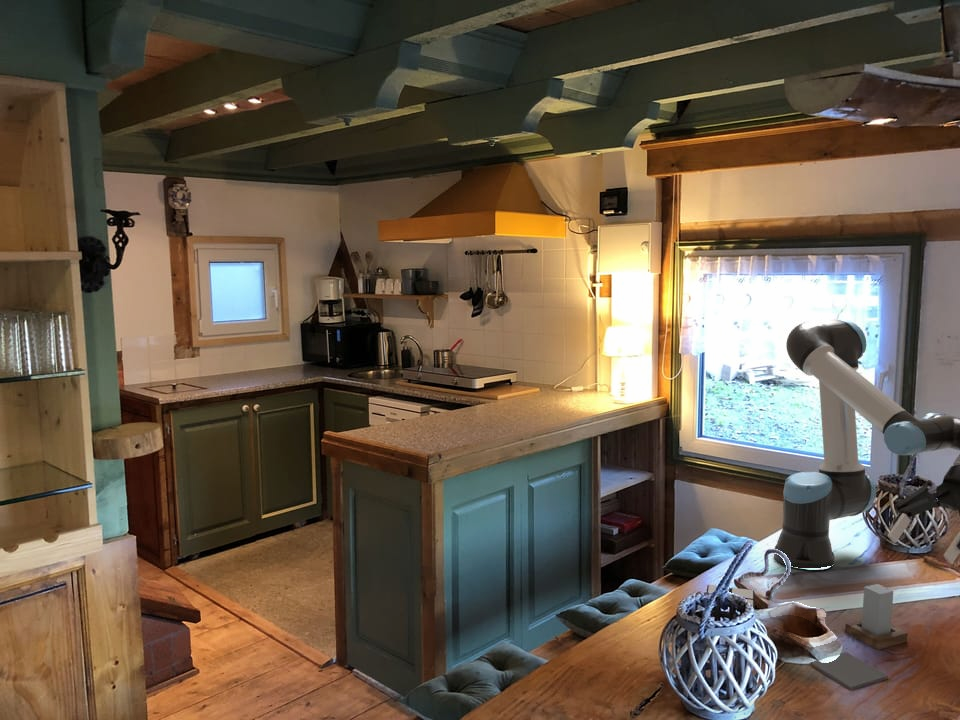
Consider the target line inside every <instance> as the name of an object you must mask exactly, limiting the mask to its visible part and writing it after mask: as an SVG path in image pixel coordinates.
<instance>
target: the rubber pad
mask: <svg viewBox="0 0 960 720" xmlns="http://www.w3.org/2000/svg"><path fill="white" fill-rule="evenodd" d="M839 654H840V656H839V657H838V658H837V659H836V660H834V661H832V662H829V663H821V662H818V661H816V660H813V661H814V662H813V661H810V663H809V665H810V666H811V667H813V668H814V669H816V670H818V671H819V672H821V673H823V674H824V675H825V676H826V677H827V676H828V678H831V679H832V680H833V681H835V682H837V683H839V684H840V685H842V686H844V688H847V689H848V690H850V691H853V690H855V689H859V688H861V687H866V686H868V685H872V684H876V683H878V682H881V681H884V680H887V679H889V675H888V674H886V673H884V672H883V671H881V670H879V669H877V668H876V667H874V666H872V665H870V664H869V663H867V662H865V661H863V660H861V659H860V658H858V657H856V656H855V655H853V654H851V653H849V652H847V651H845V652H841V653H839ZM852 689H853V690H852Z"/></svg>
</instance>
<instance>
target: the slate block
mask: <svg viewBox="0 0 960 720" xmlns="http://www.w3.org/2000/svg"><path fill="white" fill-rule="evenodd" d="M862 599H863V602H862V615H861V616H862V617H861V619H862V628H863V629H865V630H867V631H869V632H871V633H872V634H874V635H876V636H881V635H885V634H888V633H891V625H892V619H893V618H892V617H893V616H892V615H893V605H894V590H892V589H890V588H888V587H886V586H884V585H881V584H879V583H875V584H871V585H866V586H863V598H862Z"/></svg>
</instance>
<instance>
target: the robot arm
mask: <svg viewBox="0 0 960 720" xmlns="http://www.w3.org/2000/svg"><path fill="white" fill-rule="evenodd" d="M866 350H867V337H866V335H865V333H864V331H863V330H862V328H861V327H860V326H859V325H857V324H856V323H855V322H853V321H850V320H846V319H831V320H830V319H829V320H817V321H816V320H815V321H813V320H812V321H804V322H802V323H799V324H797V325H795V326H794V328H793V329H791V331H790V332H789V334H788V336H787V339H786V352H787V354H788V357H789V358H790V361H792V363H793V364H794V365H795V366H796V368H798V369H799V370H800V371H801V372H802V373H804V375H806V376H813V377H815V378H816V379H817V380H818V382H819V383H818V384H819V400H820V418H821V429H822V430H821V432H822V445H823V447H822V448H823V463H821V464H820V465H819V467H818V471H808V472H807V471H801V472H796V473H793V474H790V475H789V476H788V477H787V478H786V479H785V482H784V488H783V492H782V494H783V501H782V525H781V526H782V528H781V532H780V534H779V536H778V539H777V542H776V544H775V546H774V549H778V550H780V551H782V552H783V553H785V554H786V555H787V557H788V558H789V560H790V562H791V566H793V567H798V568H821V567H827V566H832V565H833V564H834V565H835V558H836V557H835V553H834V552H833V548H832V544H831V543H832V542H831V540H830V535H829V534H830V521H831V520H832V521H833V520H837V519H842V518H848V517H854V516H858V515H860V514H862V513H865V512H867V511H869V510H870V508H872V506H873V505H874V503H875V501H876V497H877V496H876V495H877V488H876V484H875V482H874V480H872V479H871V478H872V477H870V475H868V473H866V467H865V466H864V465H863V464H862V463H861V462H860V461H859V451H858V449H859V448H858V437H857V419H856V418H857V417H856V413H858V414H859V415H860V416H861V417H863V419H865V420H866V421H867V422H869V424H871V425H872V426H873V427H874V428H875V429H877V430H878V431H879V432H880V433H881V434H883V441H884V444H885V446H886V447H887V449H888V450H889V451H890V452H891V453H893V454H895V455H898V456H914V455H918V454H921V453H927V452H933V451H940V450H946V449H951V450H956V451H960V417H957V416H952V415H948V414H946V413H936V412H928V413H927V414H925V415H924V416H923V417H921V418H920V419H918V418H917V417H915V416H914V415H913V414H911V413H909V411H907V410H906V409H904V408H903V406H901V405H899V403H897V402H896V401H894V399H892V398H890V397H889V396H888V395H887V394H886V393H885V392H883V391H882V390H881V389H879V388H878V387H877V386H876V385H874V384H873V383H872V382H871V381H869V380H868V379H867V378H865V377H864V376H863V375H862V374H860V373H859V372H858V371H857V370H859V360H860V359H861V358H862V357H863V356H864V355H863V354H864V353H866ZM893 507H894V508H895V510H896V512H898V514H897V516H896V518H895V519H894V520H893V522H892V525H893V526H892V527H891V529H890V531H889V532H888V534H887V535H886V536H887V538H888V539H889V540H890V541H891V542H892V543H894V544H896V543H897V541H899V539H900V538H901V537H902V535H903V534H904V532H905V530H906V529H907V527H908V526H909V524H910V523H911V522H912V520H911V519H910V518H913V517H915V516H917V515H920V514H923V513H924V512H927V511H929V510H932V509H933V508H936V509H937V508H941V507H942V508H944V509H949V510H952V511H954V512H958V514H959V515H958V516H960V453H959V454H958V455H957V457H956V458H955V460H954V461H953V463H952V465H951V466H950V467H949V469H948V471H947V472H946V473H945V475H944V476H943V479H942V482H941V483H940V484H939V485H936V484H933V482H932V481H931V480H926V482H924V484H922V486H921V487H920V488H919V489H917V490H915V491H914V492H912V493H911V494H910V495H908V496H906V497H905V498H903V499H901V500H900V501H898V502H897V503H895V504H894V506H893ZM959 555H960V531H958V533H957V535H956V536H955V537H954V538H953V540H952V542H951V544H950V545H949V546H948V548H947V549H946V551H945V552H944V553H943V557H944V558H945V560H946V561H947V562H948V564H951V565H953V563H954V562H955V561H956V559H957V558H958V556H959ZM773 558H774V559H775V561H777V562H778V563H779V564H781V565H783V566H785V563H784V561H783V559H782V558H781V557H780V556H779V555H777V554H774V553H773Z"/></svg>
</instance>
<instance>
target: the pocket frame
mask: <svg viewBox="0 0 960 720" xmlns="http://www.w3.org/2000/svg"><path fill="white" fill-rule="evenodd" d="M844 625H845V626H844V633H846V634H848V635H850V636H851V637H854V638H856V639H858V640H860V642H863V643H864V644H867V645H868V646H871V647H872V648H873V649H876V650H878V651H879V650H882V649H883V650H884V649H887V648H889V647H893V646H897V645H900V644H904V643H907V641H908V635H909V632H907V631H904V630H903V629H901V628H899V627H896V626H895V625H892V624H891V633H888V634H885V635H881V636H876V635H874V634H872V633H871V632H869V631H867V630H865V629H863V628H862V618H860V619H855V620H853V621H848V622H845V624H844Z"/></svg>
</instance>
